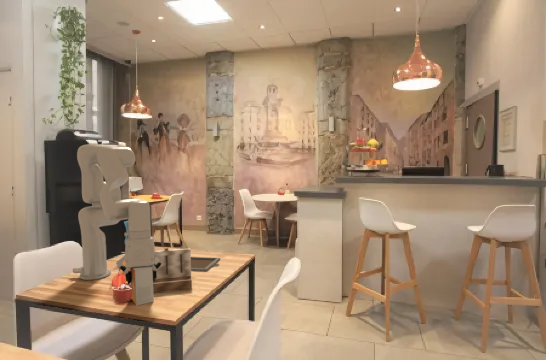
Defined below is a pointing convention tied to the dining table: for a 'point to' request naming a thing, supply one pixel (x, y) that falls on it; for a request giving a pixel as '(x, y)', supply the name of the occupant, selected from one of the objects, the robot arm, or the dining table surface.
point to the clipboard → (203, 263)
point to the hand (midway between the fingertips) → (141, 281)
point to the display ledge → (173, 271)
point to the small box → (142, 284)
